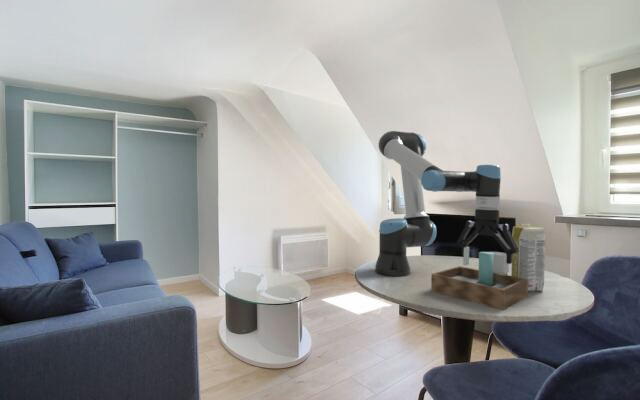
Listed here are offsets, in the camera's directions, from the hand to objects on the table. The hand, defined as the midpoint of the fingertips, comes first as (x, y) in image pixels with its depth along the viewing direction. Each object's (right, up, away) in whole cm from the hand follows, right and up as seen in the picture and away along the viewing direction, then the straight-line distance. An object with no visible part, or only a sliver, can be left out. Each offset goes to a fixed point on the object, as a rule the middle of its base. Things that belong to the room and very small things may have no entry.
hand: (485, 268), depth 112 cm
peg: (0, -8, 0) cm, 8 cm away
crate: (-3, -8, -2) cm, 9 cm away
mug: (+10, -8, +11) cm, 17 cm away
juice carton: (+18, -9, +5) cm, 21 cm away
